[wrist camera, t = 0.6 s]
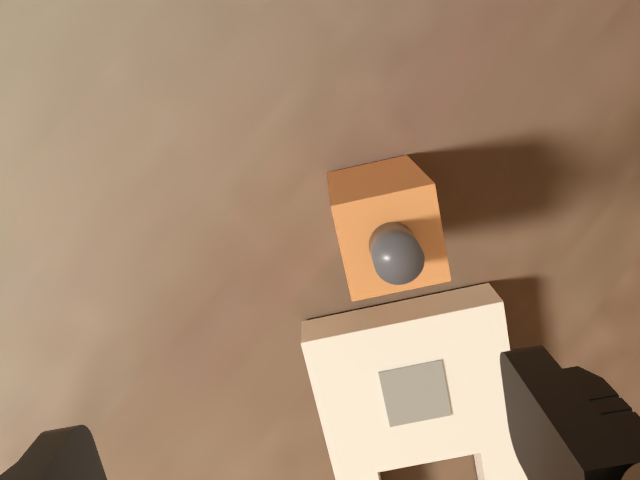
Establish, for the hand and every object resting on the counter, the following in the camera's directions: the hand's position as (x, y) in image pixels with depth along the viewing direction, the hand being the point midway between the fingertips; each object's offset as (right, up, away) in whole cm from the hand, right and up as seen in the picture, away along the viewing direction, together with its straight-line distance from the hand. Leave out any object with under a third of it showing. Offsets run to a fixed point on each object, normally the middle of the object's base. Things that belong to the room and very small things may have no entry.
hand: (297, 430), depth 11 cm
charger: (+3, +6, +18) cm, 19 cm away
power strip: (+6, -7, +22) cm, 24 cm away
